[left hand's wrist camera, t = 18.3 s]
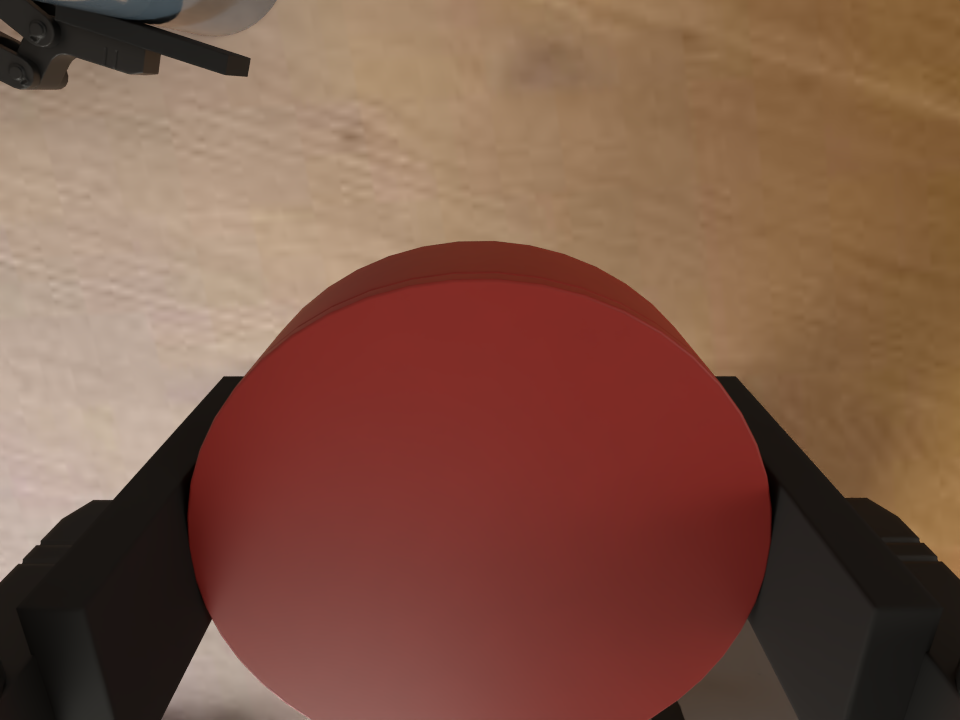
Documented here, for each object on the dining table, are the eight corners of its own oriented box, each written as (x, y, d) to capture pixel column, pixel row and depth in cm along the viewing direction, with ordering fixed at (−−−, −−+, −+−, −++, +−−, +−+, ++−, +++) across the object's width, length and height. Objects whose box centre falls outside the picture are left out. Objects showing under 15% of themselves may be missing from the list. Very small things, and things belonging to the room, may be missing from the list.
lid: (789, 292, 11) (867, 344, 9) (644, 684, 14) (675, 793, 12) (255, 193, 11) (194, 221, 8) (228, 624, 14) (179, 729, 12)
